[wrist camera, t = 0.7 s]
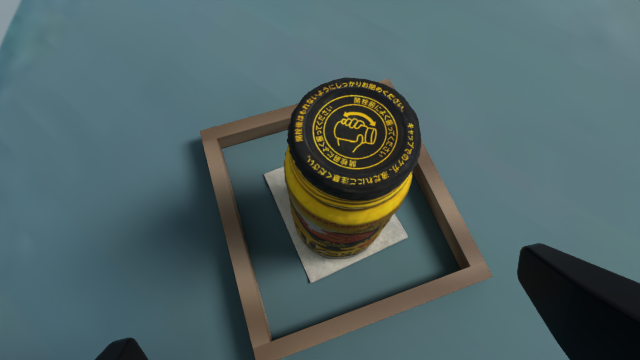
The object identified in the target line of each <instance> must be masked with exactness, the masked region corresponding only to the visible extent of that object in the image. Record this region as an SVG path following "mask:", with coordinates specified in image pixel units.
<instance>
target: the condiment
mask: <svg viewBox="0 0 640 360" xmlns="http://www.w3.org/2000/svg"><path fill="white" fill-rule="evenodd" d="M287 142H288V144H289V145H288V148H287V151H286V153H285V160H284V167H282V168H279V169H276V170H273V171H271V172H268V173H266V174H264V176H265V178H266V180H267V183H268V185H269V187H270V190H271V192H272V194H273V196H274V199H275V201H276V203H277V206H278V208H279V210H280V213H281V215H282V217H283V220H284V222H285V224H286V227H287V229H288V231H289V234H290V236H291V238H292V240H293V243H294V245H295V247H296V250H297V252H298V254H299V257H300V259H301V261H302V263H303V266H304V268H305V270H306V273H307V275H308V277H309V280H310V282H311V283H312V282H315V281H317V280H319V279H321V278H323V277H325V276H327V275H329V274H332V273H334V272H336V271H338V270H340V269H342V268H344V267H346V266H349V265H351V264H353V263H355V262H357V261H359V260H361V259H363V258H365V257H367V256H370V255H372V254H374V253H376V252H378V251H380V250H382V249H384V248H386V247H388V246H390V245H392V244H394V243H397V242H399V241H401V240H403V239H405V238H407V237H408V236H407V234H406V232H405V231H404V229H403V227H402V225H401V224H400V222H399V220H398V219H397V217H396V215H395V214H394V213H396V211H397V210H398V209H399V207H400V206H401V204H402V202H403V200H404V199H405V197H406V196H407V194H408V192H409V188H410V185H411V180H412V174H413V168H414V167H415V166H416V164H417V162H418V158H419V156H420V150H421V146H422V145H421V134H420V128H419V121H418V118H417V115H416V113H415V112H414V110H413V109H412V108H411V107H410V105H409V103H408V102H407V101H406V99H405V98H404V97H403V96H402V95H400V94H399V93H398V92H397V91H396V90H395V89H393V88H391V87H389V86H387V85H386V84H382V83H379V82H375V81H370V80H367V79H356V78H341V79H337V80H333V81H330V82H328V83H324V84H321V85H320V86H318V87H316V88H314V89H313V90H312V91H310V92H308V93H307V94H306V95H305V96H304V97H303V98H302V100H301V101H300V103H299V104H298V105H297V107H296V108H295V109H294V111H293V112H292V114H291V121H290V124H289V126H288V139H287Z"/></svg>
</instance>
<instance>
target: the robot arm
mask: <svg viewBox="0 0 640 360" xmlns="http://www.w3.org/2000/svg"><path fill="white" fill-rule="evenodd" d="M517 275H518V279H519V282H520V283H521V285H522V287H523V288H524V290H525V292H526V293H527V295H528V296H529V298H530V300H531V301H532V303H533V305H534V306H535V308H536V309H537V311H538V313H539V314H540V316H541V317H542V319H543V321H544V322H545V324H546V325H547V327H548V329H549V330H550V332H551V334H552V335H553V337H554V338H555V340H556V341H557V343H558V344H559V345H560V347H561V348H562V350H563V351H564V352H565V354H566V355H567V356H568V358H569V359H570V360H640V283H638V282H635V281H633V280H630V279H628V278H625V277H623V276H621V275H618V274H616V273H613V272H611V271H608V270H606V269H603V268H601V267H598V266H596V265H594V264H591V263H589V262H586V261H584V260H581V259H579V258H576V257H574V256H571V255H569V254H567V253H564V252H562V251H559V250H557V249H554V248H552V247H549V246H547V245H544V244H541V243H537V244H533V245H528V246H524V247H523V248H522V249H521V251H520V256H519V263H518V270H517ZM95 360H148V358H147V357H146V355H145V354H144V352H143V351H142V349H141V348H140V346H139V345H138V343H137V342H136V340H135V339H133V338H125V339H121V340H117V341H114V342H112V343H110V344H109V345H108V346H107V347H106V348H105V349H104V350H103V352H102V353H101V354H100V355H99V356H98V357H97V358H96V359H95Z"/></svg>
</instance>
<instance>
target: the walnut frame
mask: <svg viewBox="0 0 640 360" xmlns="http://www.w3.org/2000/svg"><path fill="white" fill-rule="evenodd" d="M379 83H382V84H386V85H387V86H389V87H391V88H393V89H394V87H393V85H392V83H391V81H390V79H386V80H383V81H379ZM297 105H298V104H296V105H292V106H288V107H285V108H281V109H278V110H274V111H270V112H267V113H263V114H259V115H256V116H252V117H249V118H245V119H241V120H238V121H234V122H230V123H227V124H223V125H220V126H216V127H212V128H209V129H205V130H201V131H200V134H201V138H202V142H203V146H204V150H205V154H206V158H207V163H208V167H209V171H210V175H211V179H212V183H213V187H214V191H215V195H216V199H217V204H218V208H219V212H220V216H221V220H222V224H223V228H224V232H225V236H226V241H227V245H228V249H229V253H230V257H231V261H232V265H233V269H234V273H235V277H236V282H237V286H238V290H239V294H240V298H241V302H242V306H243V310H244V314H245V318H246V323H247V327H248V331H249V335H250V339H251V343H252V347H253V351H254V355H255V359H256V360H278V359H281V358H283V357H286V356H289V355H291V354H294V353H296V352H299V351H301V350H304V349H307V348H309V347H312V346H314V345H317V344H320V343H322V342H325V341H327V340H330V339H333V338H335V337H338V336H340V335H343V334H346V333H348V332H351V331H353V330H356V329H359V328H361V327H364V326H366V325H369V324H372V323H374V322H377V321H379V320H382V319H384V318H387V317H390V316H392V315H395V314H397V313H400V312H403V311H405V310H408V309H410V308H413V307H416V306H418V305H421V304H423V303H426V302H429V301H431V300H434V299H436V298H439V297H442V296H444V295H447V294H449V293H452V292H454V291H457V290H460V289H462V288H465V287H467V286H470V285H473V284H475V283H478V282H480V281H483V280H486V279H488V278H491V277H493V276H492V274H491V272H490V270H489V268H488V267H487V265H486V263H485V261H484V259H483V257H482V255H481V253H480V251H479V249H478V247H477V246H476V244H475V242H474V240H473V238H472V236H471V234H470V232H469V230H468V228H467V226H466V225H465V223H464V221H463V219H462V217H461V215H460V213H459V211H458V209H457V207H456V205H455V204H454V202H453V200H452V198H451V196H450V194H449V192H448V190H447V188H446V186H445V184H444V183H443V181H442V179H441V177H440V175H439V173H438V171H437V169H436V167H435V165H434V163H433V162H432V160H431V158H430V156H429V154H428V152H427V150H426V148H425V146H424V144H423V142H422V141H421V145H422V146H421V150H420V156H419V158H418V162H417V164H416V166H415V167H414V168H413V173H414V175H415V177H416V179H417V182H418V184H419V186H420V188H421V190H422V192H423V194H424V196H425V198H426V200H427V202H428V204H429V206H430V208H431V210H432V212H433V214H434V216H435V218H436V220H437V222H438V224H439V226H440V228H441V230H442V232H443V234H444V236H445V238H446V240H447V242H448V244H449V246H450V248H451V251H452V253H453V255H454V257H455V259H456V261H457V263H458V265H459V267H460V269H461V270H460V271H457V272H454V273H452V274H449V275H446V276H444V277H441V278H438V279H436V280H433V281H430V282H428V283H425V284H422V285H420V286H417V287H414V288H412V289H409V290H406V291H404V292H401V293H398V294H396V295H393V296H391V297H388V298H385V299H383V300H380V301H377V302H375V303H372V304H369V305H367V306H364V307H361V308H359V309H356V310H353V311H351V312H348V313H345V314H343V315H340V316H337V317H335V318H332V319H329V320H327V321H324V322H321V323H319V324H316V325H313V326H311V327H308V328H306V329H303V330H300V331H298V332H295V333H292V334H290V335H287V336H284V337H282V338H279V339H276V340H274V341H273V340H272V336H271V332H270V329H269V325H268V321H267V317H266V313H265V310H264V306H263V302H262V298H261V295H260V291H259V287H258V283H257V280H256V276H255V272H254V268H253V265H252V261H251V257H250V253H249V250H248V246H247V242H246V238H245V235H244V231H243V227H242V223H241V219H240V216H239V212H238V208H237V204H236V201H235V197H234V193H233V189H232V186H231V182H230V178H229V174H228V171H227V167H226V163H225V159H224V156H223V152H222V148H225V147H228V146H232V145H235V144H239V143H242V142H246V141H249V140H253V139H256V138H260V137H263V136H267V135H270V134H274V133H277V132H281V131H284V130H288V126H289V124H290V121H291V114H292V112H293V111H294V109H295V108H296V107H297Z"/></svg>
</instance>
